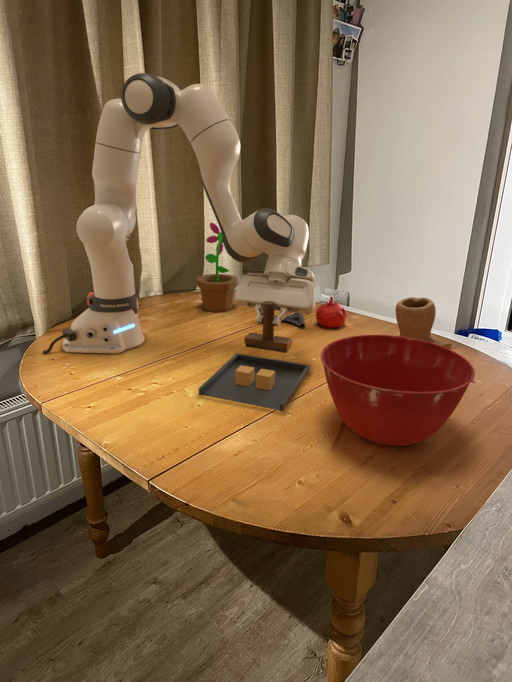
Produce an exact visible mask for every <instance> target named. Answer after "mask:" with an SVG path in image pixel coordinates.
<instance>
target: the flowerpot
mask: <svg viewBox="0 0 512 682" xmlns="http://www.w3.org/2000/svg"><path fill="white" fill-rule="evenodd" d="M209 228H210V230H211V231H212V232H213V234H216V235H211V236H208V237H207V238H206V240H205V241H206V243H209V244H214V243H217V244H216V246H215V254H213V253H207V254H206V255H205V257H204V258H205V260H206V262H208V263H210V264H214V263H215V273H210V274H204V275H203V274H202V275H199V276H198V277H197V278H196V286H197V287H198V288H199V290H200V291H199V292H200V297H201V303H202V308H203V309H204V311H208V312H213V313H214V312H216V313H220V312H227V311H230V310H231V309H232V308H233V305H234V295H235V290H236V289H235V288H237V287H238V285H239V278H238V277H237V276H235V275H231V274H227V273H228V272H229V271H230V270H229V269H228V268H226V267H224V266H221V265H219V262H220V261H219V259H220V255H221V254H222V253H223V251H224V244H223V239H222V233H221V230H220V227H219V226H218V225H217V224H216V223H214V222H212V221H211V222H210V223H209Z"/></svg>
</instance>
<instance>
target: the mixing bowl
mask: <svg viewBox="0 0 512 682" xmlns="http://www.w3.org/2000/svg"><path fill="white" fill-rule="evenodd" d="M320 361H321V363H322V365H323V370H324V374H325V375H324V376H325V380H326V383H327V387H328V390H329V393H330V396H331V399H332V401H333V404H334V406H335V408H336V410H337V413H338V414H339V416H340V418H341V419H342V421H343V422H344V424H345V425H346V427H348V428H349V430H351V431H352V432H354V434H357V436H359V437H361V438H363V439H364V440H367V441H368V442H371V443H374V444H378V445H381V446H385V447H386V446H387V447H405V446H410V445H414V444H417V443H421V442H422V441H425V440H427V439H428V438H430V437H432V436H433V435H434V434H435V433H437V432H438V430H440V429H441V428H442V426H444V425H445V423H446V422H447V421H448V420H449V418H450V417H451V416H452V414H453V413H454V411H455V410H456V409H457V407H458V406H459V404H460V402H461V401H462V399H463V397H464V395H465V393H466V391H467V390H468V388H469V385H470V384H471V383H472V382H473V381H474V380H475V379H474V378H475V376H476V370H475V368H474V366H473V364H472V363H471V362H470V361H469V360H468V359H466V357H464V356H463V355H461V354H460V353H458V352H456V351H454V350H452V349H451V348H450V349H448V348H446V347H443V346H440V345H437V344H434V343H431V342H427V341H423V340H419V339H414V338H408V337H402V336H400V335H392V334H361V335H353V336H352V335H351V336H348V337H342V338H339V339H336V340H334V341H332V342H330V343H328V344H327V345H326V346H324V348H322V350H321V352H320Z"/></svg>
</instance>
